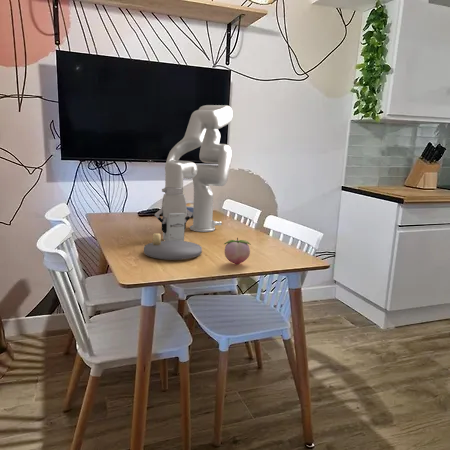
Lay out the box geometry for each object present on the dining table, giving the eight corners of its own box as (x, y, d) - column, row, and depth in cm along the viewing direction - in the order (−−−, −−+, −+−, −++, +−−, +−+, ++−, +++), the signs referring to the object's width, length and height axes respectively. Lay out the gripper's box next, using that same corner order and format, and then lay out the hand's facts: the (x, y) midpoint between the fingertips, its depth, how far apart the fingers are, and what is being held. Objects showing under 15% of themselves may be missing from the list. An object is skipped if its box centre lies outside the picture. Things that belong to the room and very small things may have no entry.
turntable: (168, 241, 169) (168, 228, 168) (212, 250, 158) (212, 236, 157) (131, 252, 150) (131, 238, 149) (178, 263, 139) (178, 248, 138)
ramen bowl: (168, 212, 241) (168, 198, 239) (206, 212, 247) (206, 198, 246) (174, 220, 218) (175, 205, 216) (215, 220, 224) (216, 205, 222)
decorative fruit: (246, 260, 149) (247, 234, 147) (251, 267, 141) (252, 240, 139) (221, 261, 148) (222, 234, 146) (225, 268, 140) (226, 240, 138)
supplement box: (168, 243, 170) (168, 213, 167) (162, 239, 176) (162, 210, 174) (184, 241, 173) (185, 213, 171) (178, 237, 180) (178, 210, 177)
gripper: (156, 192, 163) (155, 234, 167) (196, 192, 170) (195, 232, 174) (151, 190, 170) (151, 231, 174) (190, 190, 177) (189, 229, 181)
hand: (173, 231), depth 174 cm, fingers closed on supplement box, 7 cm apart
